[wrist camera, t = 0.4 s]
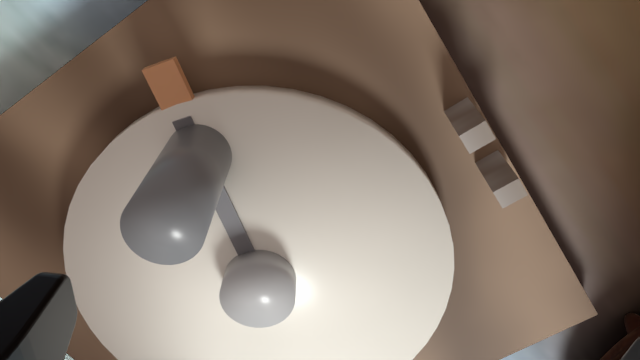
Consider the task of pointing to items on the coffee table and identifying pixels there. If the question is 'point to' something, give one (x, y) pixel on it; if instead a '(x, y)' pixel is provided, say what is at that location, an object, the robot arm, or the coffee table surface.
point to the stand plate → (320, 79)
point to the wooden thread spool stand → (625, 338)
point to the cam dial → (257, 232)
